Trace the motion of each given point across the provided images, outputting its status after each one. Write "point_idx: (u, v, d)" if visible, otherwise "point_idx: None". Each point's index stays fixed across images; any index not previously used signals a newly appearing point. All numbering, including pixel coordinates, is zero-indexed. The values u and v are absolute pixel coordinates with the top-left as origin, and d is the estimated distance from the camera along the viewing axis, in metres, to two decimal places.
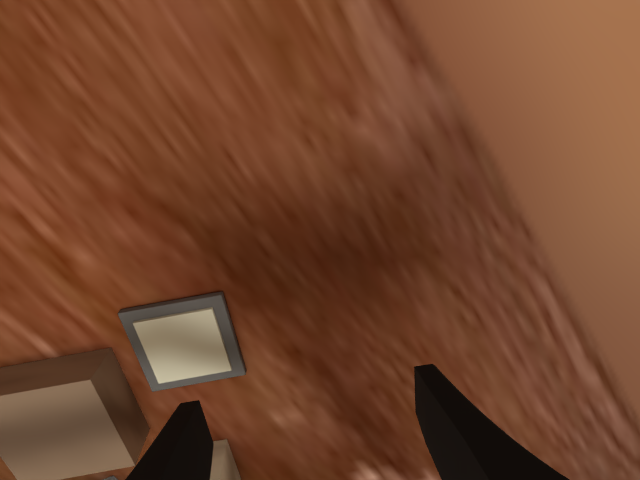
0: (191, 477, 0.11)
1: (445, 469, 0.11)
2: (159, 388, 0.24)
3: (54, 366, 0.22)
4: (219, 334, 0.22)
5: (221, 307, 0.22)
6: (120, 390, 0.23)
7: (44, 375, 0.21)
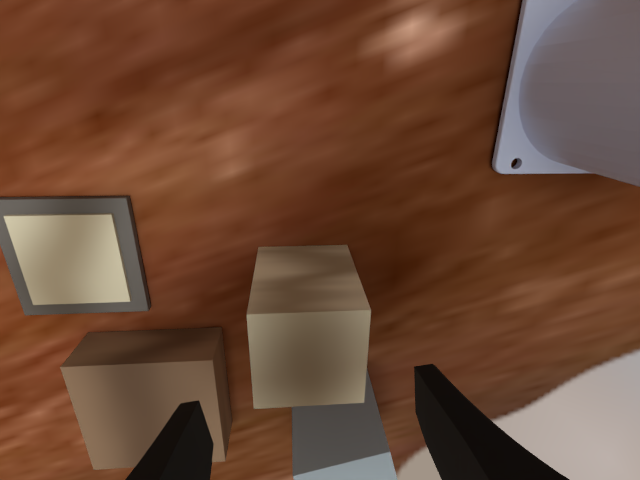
0: (191, 477, 0.11)
1: (445, 470, 0.11)
2: (143, 302, 0.19)
3: None
4: (46, 215, 0.17)
5: (5, 204, 0.17)
6: (131, 341, 0.19)
7: None
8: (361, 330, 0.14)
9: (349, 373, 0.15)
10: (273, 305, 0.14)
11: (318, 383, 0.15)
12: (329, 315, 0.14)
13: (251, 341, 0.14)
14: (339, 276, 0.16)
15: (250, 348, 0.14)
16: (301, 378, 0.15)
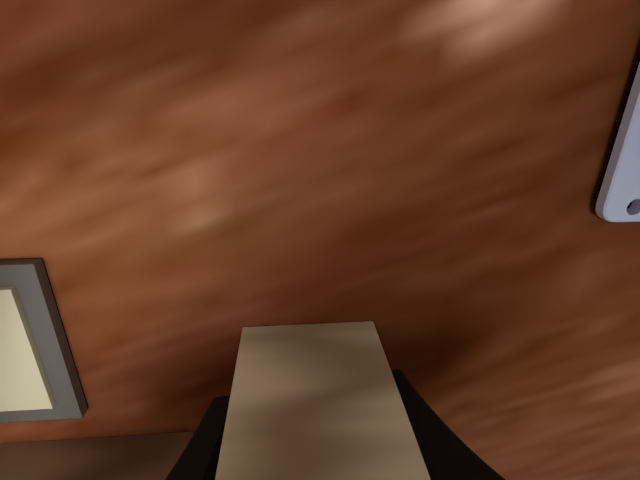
0: None
1: None
2: (74, 407, 0.13)
3: None
4: None
5: None
6: (57, 462, 0.13)
7: None
8: None
9: None
10: None
11: None
12: None
13: None
14: (368, 395, 0.10)
15: None
16: None
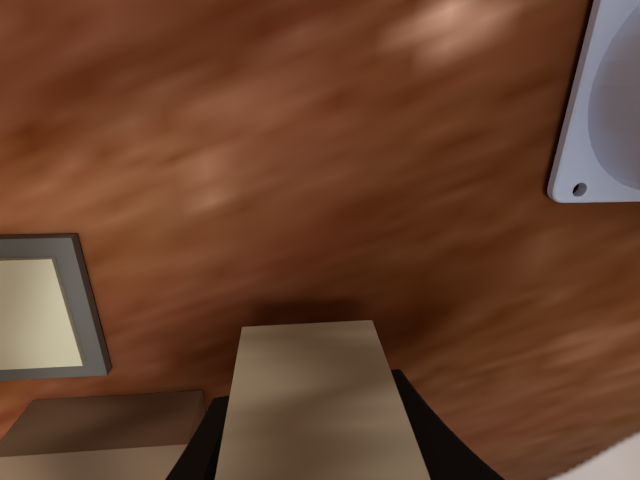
0: None
1: None
2: (100, 365, 0.15)
3: None
4: None
5: None
6: (85, 413, 0.15)
7: None
8: None
9: None
10: None
11: None
12: None
13: None
14: (367, 393, 0.10)
15: None
16: None
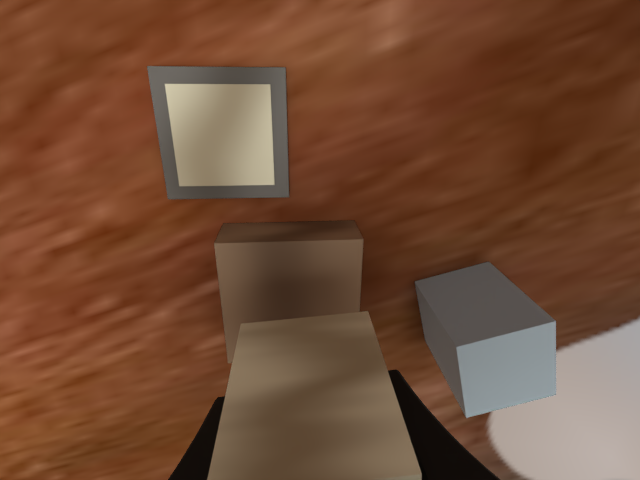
0: None
1: None
2: (285, 187, 0.19)
3: None
4: (206, 84, 0.17)
5: (166, 72, 0.16)
6: (270, 228, 0.19)
7: None
8: None
9: None
10: (252, 469, 0.08)
11: None
12: None
13: None
14: (360, 382, 0.10)
15: None
16: None
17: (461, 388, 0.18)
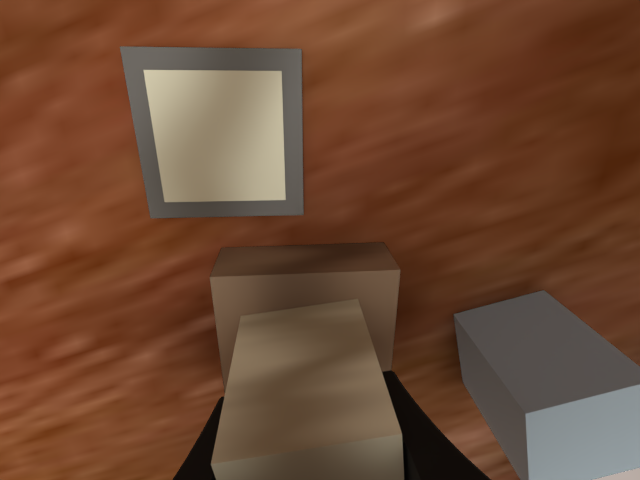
0: None
1: None
2: (299, 203, 0.15)
3: None
4: (198, 70, 0.13)
5: (146, 54, 0.12)
6: (281, 254, 0.15)
7: None
8: (390, 462, 0.09)
9: None
10: (253, 438, 0.09)
11: None
12: (337, 448, 0.09)
13: None
14: (349, 361, 0.11)
15: None
16: None
17: (526, 461, 0.14)
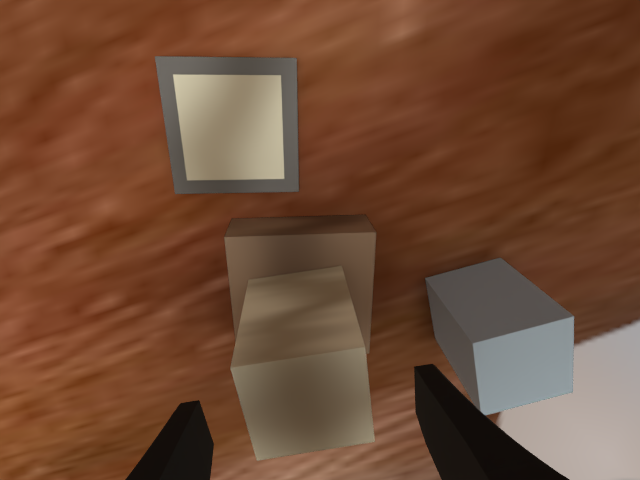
0: (191, 477, 0.11)
1: (445, 469, 0.11)
2: (295, 181, 0.18)
3: None
4: (215, 74, 0.16)
5: (175, 62, 0.16)
6: (281, 222, 0.19)
7: None
8: (358, 369, 0.13)
9: (353, 414, 0.14)
10: (259, 352, 0.13)
11: (321, 428, 0.14)
12: (319, 357, 0.12)
13: (241, 394, 0.13)
14: (331, 306, 0.15)
15: (241, 401, 0.13)
16: (301, 425, 0.14)
17: (476, 386, 0.17)
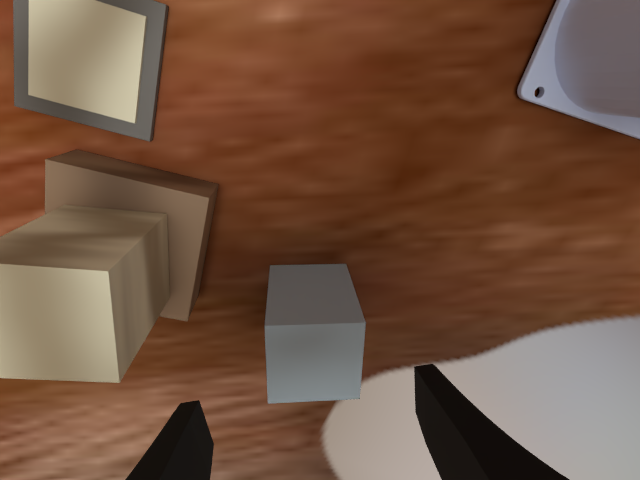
0: (191, 477, 0.11)
1: (445, 469, 0.11)
2: (147, 130, 0.18)
3: None
4: None
5: None
6: (123, 165, 0.18)
7: None
8: (100, 295, 0.12)
9: (95, 346, 0.13)
10: None
11: (59, 354, 0.13)
12: (57, 272, 0.12)
13: None
14: (117, 238, 0.14)
15: None
16: (36, 345, 0.13)
17: None
